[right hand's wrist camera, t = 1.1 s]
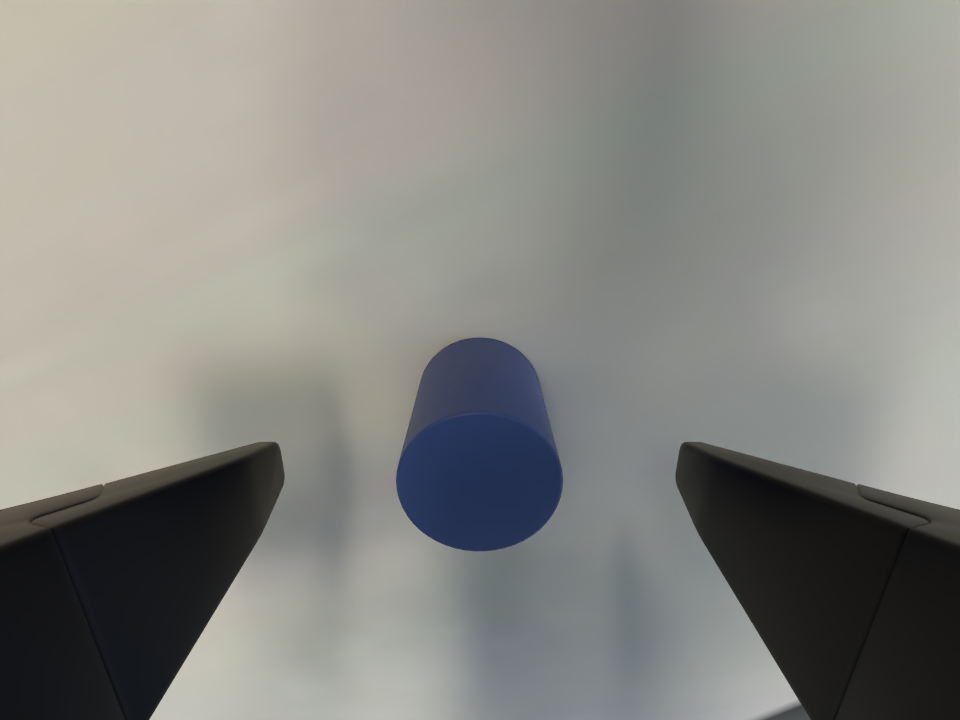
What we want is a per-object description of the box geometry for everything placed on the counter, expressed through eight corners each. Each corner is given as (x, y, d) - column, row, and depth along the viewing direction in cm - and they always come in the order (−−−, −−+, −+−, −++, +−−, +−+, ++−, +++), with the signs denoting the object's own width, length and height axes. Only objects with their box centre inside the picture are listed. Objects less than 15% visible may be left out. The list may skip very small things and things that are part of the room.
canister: (418, 443, 15) (395, 548, 11) (420, 333, 14) (395, 407, 10) (533, 449, 15) (553, 556, 11) (545, 340, 14) (573, 416, 10)
